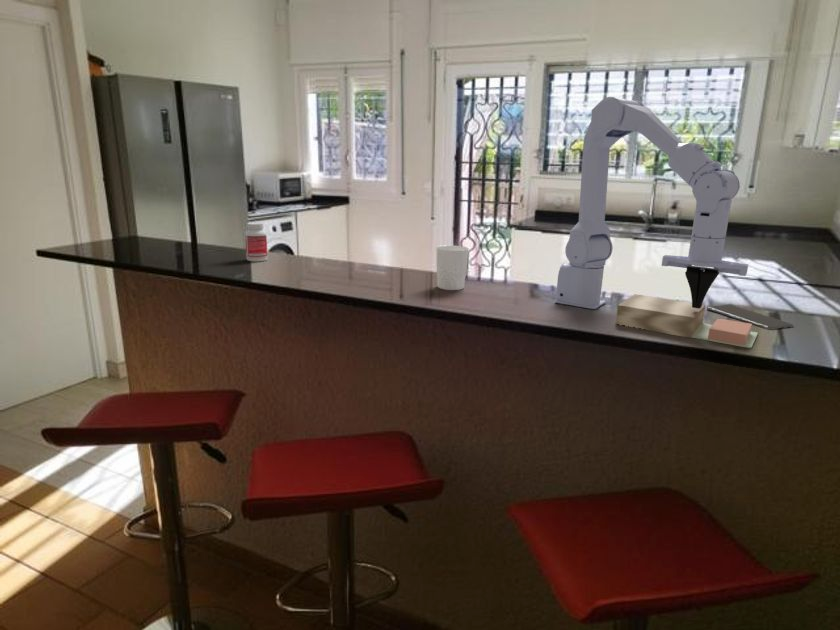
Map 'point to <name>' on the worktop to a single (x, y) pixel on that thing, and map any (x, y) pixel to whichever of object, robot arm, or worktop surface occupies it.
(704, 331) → the mat
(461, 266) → the white cup
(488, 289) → the worktop surface
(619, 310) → the wooden block
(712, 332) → the pink rubber eraser
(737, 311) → the smartphone
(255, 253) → the pill bottle
